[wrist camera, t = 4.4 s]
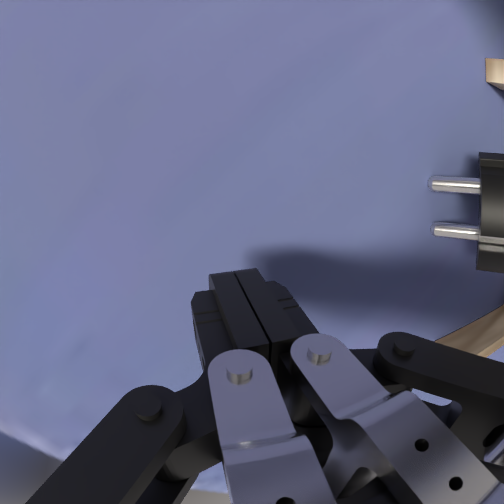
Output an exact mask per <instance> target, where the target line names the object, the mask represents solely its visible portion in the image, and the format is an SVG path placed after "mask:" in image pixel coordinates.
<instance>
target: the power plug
mask: <svg viewBox="0 0 504 504" xmlns="http://www.w3.org/2000/svg"><path fill="white" fill-rule="evenodd" d="M428 187H429V189H430V190H431V191H434V192H448V193H463V194H477V195H479V223H478V225H467V224H456V223H445V222H434V223H432V225H431V227H430V232H431V234H432V235H433V236H435V237H444V238H455V239H465V240H474V241H478V245H477V258H476V270H482V271H490V272H498V273H504V154H499V153H484V152H479V178H466V177H448V176H431V177H430V178H429V180H428Z"/></svg>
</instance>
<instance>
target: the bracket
mask: <svg viewBox="0 0 504 504" xmlns="http://www.w3.org/2000/svg"><path fill="white" fill-rule="evenodd" d="M485 60H486V82H488V83H490V84H492V85H494V86H496V87H498V88H499V89H501V90H503V91H504V59H490V58H485ZM435 342H437V343H440V344H443V345H446V346H449V347H453V348H456V349H459V350H462V351H466V352H469V353H472V354H475V355H479V356H482V357H485V358H486V357H488V356H489V355H490V354H492V353H493V352H495V351H496V350H497V349H499V348H500V347H501V346H503V345H504V304H503V306H501V307H499V308H497V309H496V310H494V311H492V312H490V313H489V314H487V315H485V316H483V317H482V318H480V319H478V320H476V321H474V322H472V323H470V324H468V325H467V326H465V327H463V328H461V329H459V330H457V331H455V332H453V333H451V334H449V335H447V336H445V337H443V338H440V339H438V340H436V341H435Z"/></svg>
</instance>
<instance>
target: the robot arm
mask: <svg viewBox="0 0 504 504" xmlns="http://www.w3.org/2000/svg"><path fill="white" fill-rule="evenodd" d="M191 308H192V316H193V324H194V332H195V340H196V344H197V348H198V352H199V357H200V361H201V365H202V369H203V373H202V375H201V377H200V378H199V379H198V380H197V381H196V382H195V383H193V384H192V385H190V386H188V387H186V388H184V389H182V390H180V391H177V392H173V391H172V390H170V389H168V388H166V387H163V386H158V385H146V386H141V387H138V388H135V389H133V390H131V391H130V392H128V393H127V394H126V395H125V396H123V397H122V399H121V400H120V401H119V402H118V403H117V404H116V405H115V406H114V407H113V408H112V410H111V411H110V412H109V413H108V414H107V415H106V416H105V417H104V418H103V419H102V420H101V422H100V423H99V424H98V425H97V426H96V427H95V428H94V429H93V430H92V431H91V432H90V434H89V435H88V436H87V437H86V438H85V439H84V440H83V441H82V442H81V443H80V444H79V446H78V447H77V448H76V449H75V450H74V451H73V452H72V453H71V454H70V455H69V456H68V458H67V459H66V460H65V461H64V462H63V463H62V464H61V465H60V466H59V467H58V469H57V470H56V471H55V472H54V473H53V474H52V475H51V476H50V477H49V478H48V479H47V480H46V482H45V483H44V484H43V485H42V486H41V487H40V488H39V489H38V490H37V491H36V492H35V494H34V495H33V496H32V497H31V498H30V499H29V500H28V501H27V502H26V503H25V504H181V502H182V501H183V499H184V497H185V496H186V494H187V493H188V491H189V490H190V488H191V486H192V485H193V483H194V482H195V480H196V479H197V477H198V475H199V473H200V472H202V471H204V470H206V469H208V468H210V467H212V466H214V465H216V464H218V463H219V462H221V461H222V465H223V470H224V474H225V479H226V484H227V488H228V493H229V497H230V502H231V504H504V363H502V362H499V361H495V360H492V359H489V358H485V357H482V356H479V355H475V354H472V353H469V352H466V351H462V350H459V349H456V348H453V347H449V346H446V345H443V344H440V343H437V342H434V341H430V340H427V339H424V338H421V337H418V336H415V335H412V334H408V333H404V332H391V333H388V334H386V335H384V336H383V337H381V339H380V340H379V343H378V346H377V349H348V348H347V347H346V346H345V345H344V344H343V343H342V342H341V341H340V340H338V339H336V338H334V337H332V336H329V335H325V334H320V333H319V332H318V331H317V329H316V328H315V326H314V325H313V324H312V322H311V321H310V320H309V318H308V317H307V316H306V314H305V313H304V312H303V310H302V309H301V307H299V305H298V303H297V302H296V301H295V299H293V297H292V295H291V294H290V293H289V291H288V290H287V289H286V288H285V287H284V286H282V285H280V284H279V283H277V282H275V281H269V282H265V280H264V279H263V277H262V276H261V274H260V273H259V271H258V270H257V269H256V268H253V269H245V270H238V271H233V272H232V271H231V272H223V273H216V274H209V290H207V291H200V292H195V294H194V296H193V299H192V301H191ZM413 388H414V389H417V390H421V391H424V392H427V393H430V394H433V395H436V396H439V397H443V398H446V399H449V400H452V402H451V403H450V404H448V405H445V406H439V405H435V404H432V403H429V402H426V401H423V400H421V399H420V398H419V397H418V396H416V395H415V394H414V393H412V392H411V391H412V389H413Z"/></svg>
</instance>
